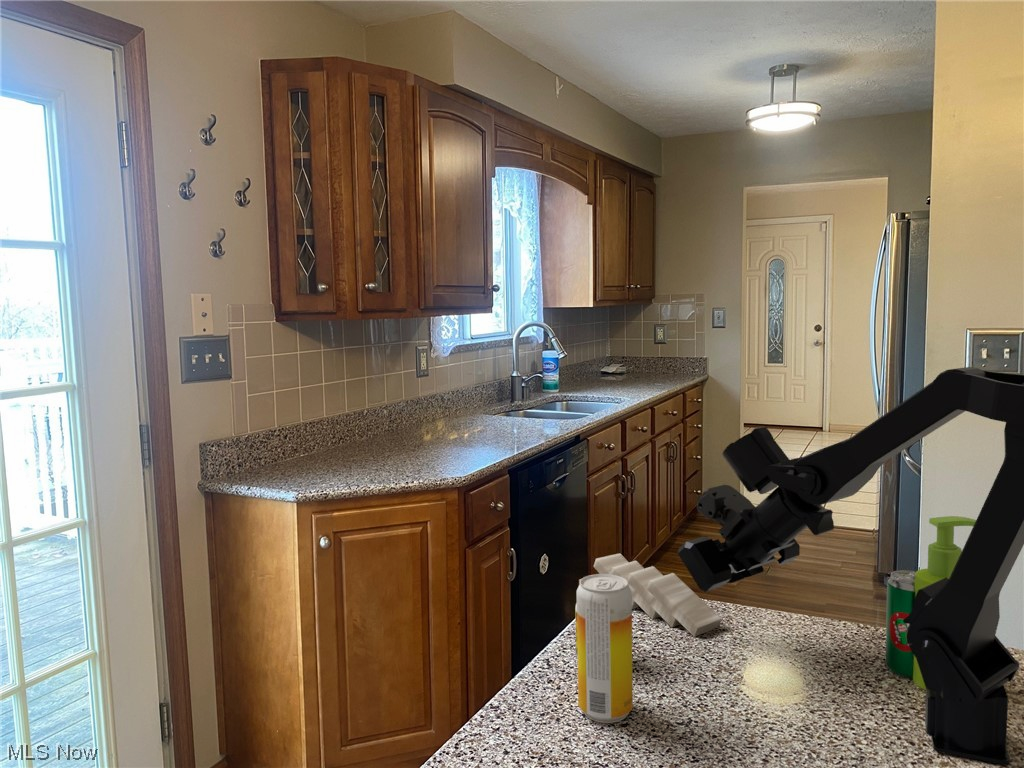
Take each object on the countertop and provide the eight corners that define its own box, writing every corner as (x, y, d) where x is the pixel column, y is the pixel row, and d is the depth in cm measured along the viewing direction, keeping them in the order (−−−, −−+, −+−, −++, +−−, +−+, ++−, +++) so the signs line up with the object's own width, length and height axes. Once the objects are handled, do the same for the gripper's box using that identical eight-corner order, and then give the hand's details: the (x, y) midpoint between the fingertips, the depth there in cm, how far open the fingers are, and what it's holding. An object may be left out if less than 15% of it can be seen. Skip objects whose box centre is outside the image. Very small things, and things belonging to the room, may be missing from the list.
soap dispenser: (990, 696, 85) (996, 525, 83) (928, 697, 86) (933, 526, 84) (960, 671, 91) (965, 511, 89) (903, 672, 91) (907, 512, 89)
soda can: (911, 659, 95) (913, 567, 94) (941, 678, 90) (944, 581, 89) (876, 664, 94) (877, 571, 92) (905, 683, 89) (907, 585, 88)
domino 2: (679, 602, 111) (636, 560, 118) (655, 611, 108) (612, 567, 115) (676, 610, 112) (633, 568, 119) (652, 619, 109) (609, 575, 116)
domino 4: (721, 618, 105) (673, 572, 112) (697, 628, 102) (649, 580, 109) (718, 627, 106) (669, 581, 113) (694, 636, 103) (646, 588, 110)
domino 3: (699, 610, 108) (653, 566, 115) (675, 619, 105) (629, 573, 112) (695, 618, 109) (650, 574, 116) (671, 627, 106) (626, 581, 113)
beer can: (635, 700, 86) (634, 574, 85) (629, 728, 81) (628, 594, 79) (583, 694, 88) (581, 570, 87) (574, 721, 82) (571, 589, 81)
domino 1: (659, 594, 114) (620, 553, 122) (634, 601, 112) (595, 558, 119) (656, 602, 115) (617, 561, 122) (631, 609, 112) (593, 566, 120)
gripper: (781, 460, 103) (717, 521, 113) (689, 480, 92) (627, 546, 102) (833, 528, 97) (761, 587, 107) (741, 558, 87) (670, 620, 97)
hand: (705, 582), depth 103 cm, fingers closed
